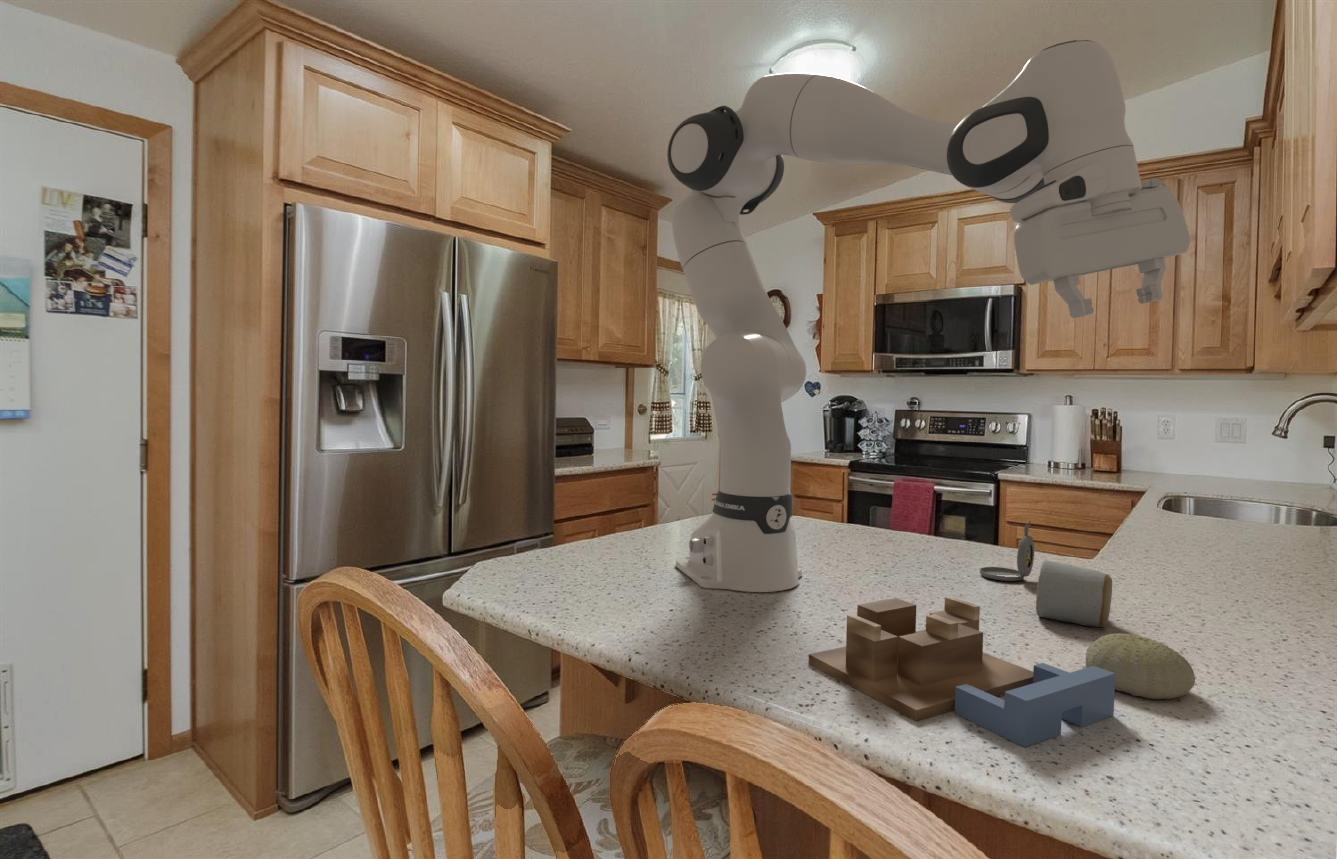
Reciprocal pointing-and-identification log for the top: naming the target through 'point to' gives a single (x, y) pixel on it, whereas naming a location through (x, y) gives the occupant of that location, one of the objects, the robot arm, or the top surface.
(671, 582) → the top surface
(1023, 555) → the pocket watch
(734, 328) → the robot arm
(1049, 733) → the blue stepped bracket
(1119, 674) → the sea urchin shell
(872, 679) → the stand
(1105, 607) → the ceramic mug
